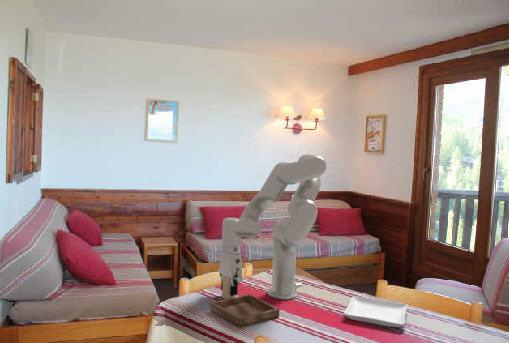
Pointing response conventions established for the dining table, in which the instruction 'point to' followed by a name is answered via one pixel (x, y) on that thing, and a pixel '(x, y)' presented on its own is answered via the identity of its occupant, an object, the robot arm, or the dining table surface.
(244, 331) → the dining table surface
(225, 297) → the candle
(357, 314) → the salad plate
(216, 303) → the walnut tray
